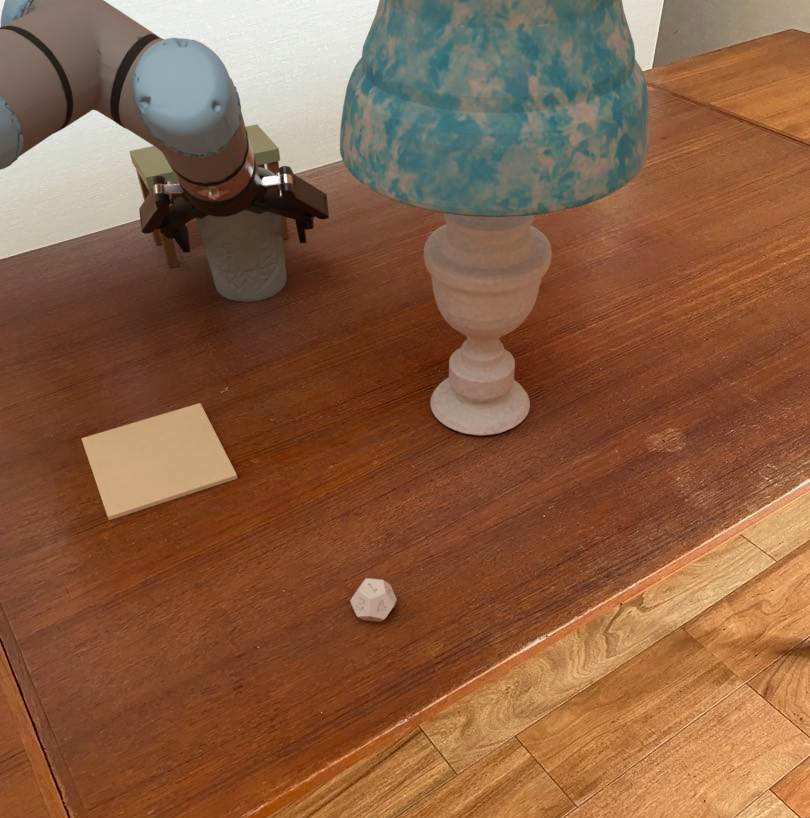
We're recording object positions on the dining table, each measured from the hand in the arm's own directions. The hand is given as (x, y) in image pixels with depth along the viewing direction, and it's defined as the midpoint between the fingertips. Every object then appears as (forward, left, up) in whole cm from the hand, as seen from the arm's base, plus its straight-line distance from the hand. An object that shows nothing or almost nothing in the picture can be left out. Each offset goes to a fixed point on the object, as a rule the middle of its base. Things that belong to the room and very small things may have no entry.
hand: (244, 236), depth 102 cm
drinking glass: (+2, -1, -5) cm, 5 cm away
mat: (+28, -19, -5) cm, 34 cm away
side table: (-10, -1, -5) cm, 11 cm away
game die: (+54, -8, -5) cm, 55 cm away
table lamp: (+35, +12, -5) cm, 38 cm away
